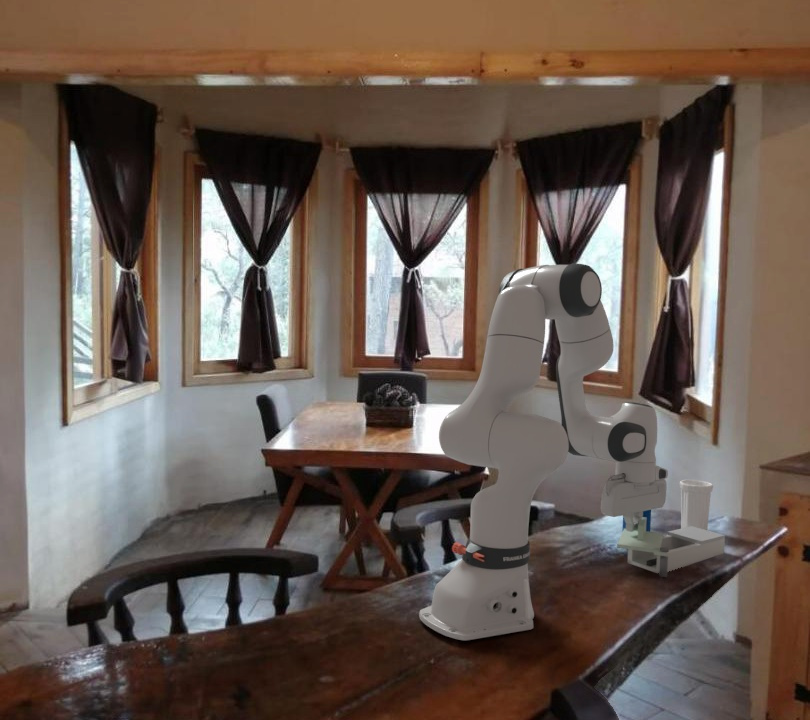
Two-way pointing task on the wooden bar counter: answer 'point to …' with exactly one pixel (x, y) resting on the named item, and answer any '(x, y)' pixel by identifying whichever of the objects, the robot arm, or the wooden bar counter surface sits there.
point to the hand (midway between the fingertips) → (632, 530)
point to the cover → (642, 540)
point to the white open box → (681, 550)
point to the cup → (695, 503)
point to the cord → (651, 562)
